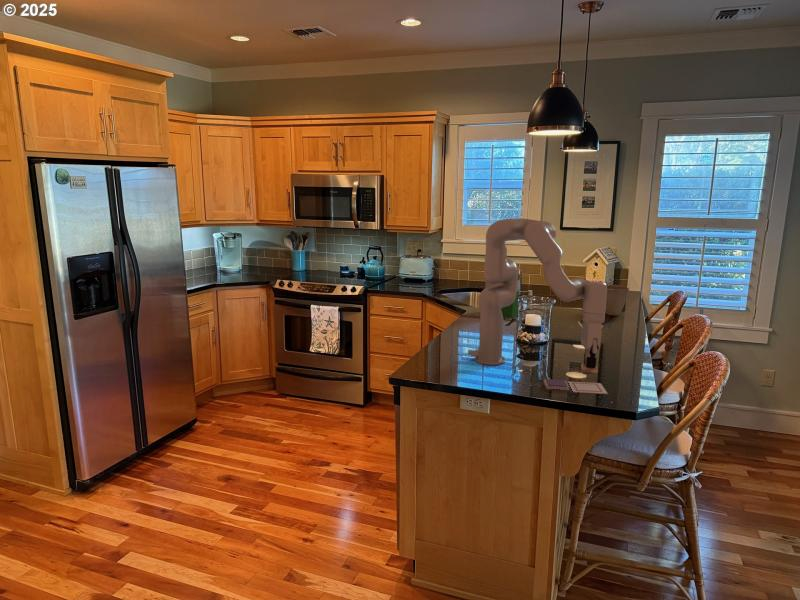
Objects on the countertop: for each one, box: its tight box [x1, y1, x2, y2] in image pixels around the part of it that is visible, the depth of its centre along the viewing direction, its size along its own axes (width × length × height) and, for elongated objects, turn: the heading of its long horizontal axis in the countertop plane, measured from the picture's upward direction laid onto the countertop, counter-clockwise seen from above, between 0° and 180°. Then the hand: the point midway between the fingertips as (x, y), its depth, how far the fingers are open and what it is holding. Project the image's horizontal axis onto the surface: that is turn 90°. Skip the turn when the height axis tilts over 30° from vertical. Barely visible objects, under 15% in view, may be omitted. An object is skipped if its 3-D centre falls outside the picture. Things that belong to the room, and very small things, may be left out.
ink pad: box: [543, 378, 570, 391], centre depth 193 cm, size 8×7×2 cm
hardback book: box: [484, 273, 521, 319], centre depth 300 cm, size 18×7×24 cm, turn 52°
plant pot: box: [605, 284, 630, 316], centre depth 306 cm, size 15×15×16 cm
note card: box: [567, 381, 608, 395], centre depth 192 cm, size 12×10×1 cm
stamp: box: [580, 347, 599, 375], centre depth 190 cm, size 5×4×12 cm
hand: (589, 365), depth 190 cm, fingers closed on stamp, 3 cm apart
